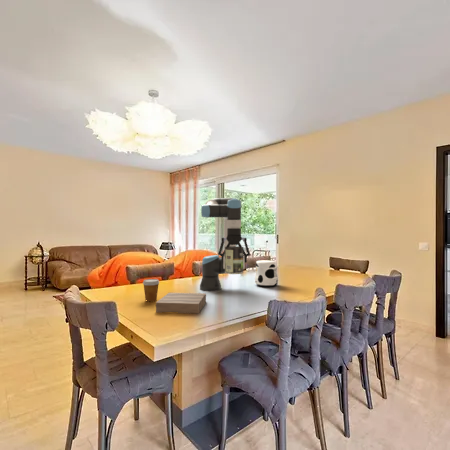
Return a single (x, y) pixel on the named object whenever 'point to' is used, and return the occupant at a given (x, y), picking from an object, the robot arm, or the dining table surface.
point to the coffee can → (233, 260)
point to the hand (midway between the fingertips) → (234, 268)
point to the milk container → (266, 273)
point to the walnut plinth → (181, 302)
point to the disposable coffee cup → (151, 289)
